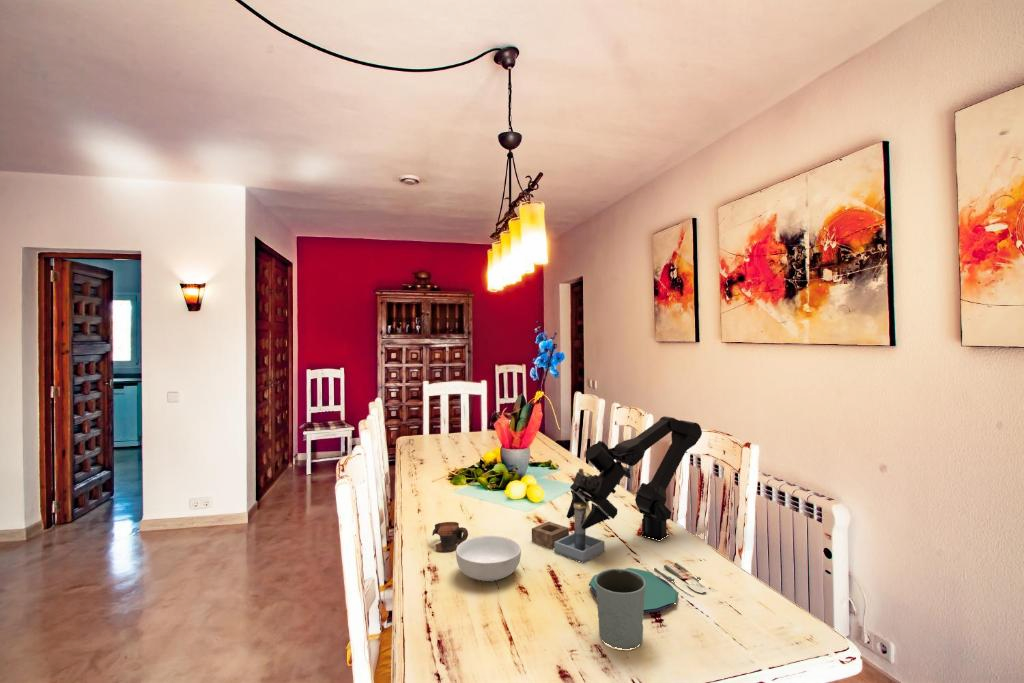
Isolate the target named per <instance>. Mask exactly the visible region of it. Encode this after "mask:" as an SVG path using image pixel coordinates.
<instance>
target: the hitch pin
mask: <svg viewBox="0 0 1024 683" xmlns="http://www.w3.org/2000/svg"><path fill="white" fill-rule="evenodd" d="M574 508H575V518H574V524H573V525H574V532H573V533H574V548H575V549H578V550H581V551H584V550H585V542H586V535H587V534H586V533H587V532H586V530H587V529H585V530H583V529H582V528H581V526H582V525H583V523H584V521H585V520H586V509H587V504H586V503H582V502H577V503H574Z"/></svg>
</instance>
